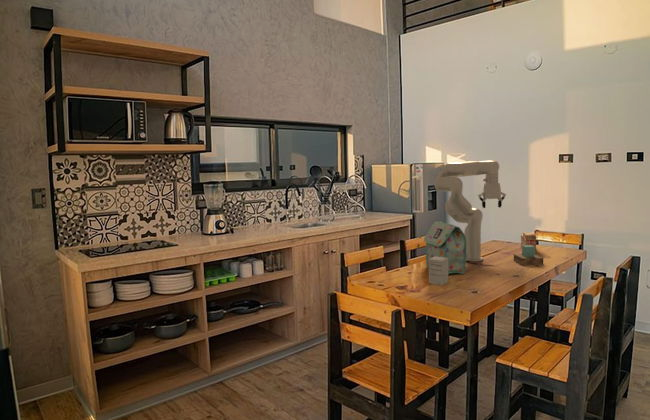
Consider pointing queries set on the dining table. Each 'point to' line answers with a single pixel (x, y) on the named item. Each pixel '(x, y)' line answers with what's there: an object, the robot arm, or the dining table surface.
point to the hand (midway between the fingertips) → (491, 207)
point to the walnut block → (528, 260)
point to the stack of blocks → (528, 239)
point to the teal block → (528, 250)
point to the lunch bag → (447, 246)
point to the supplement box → (438, 270)
